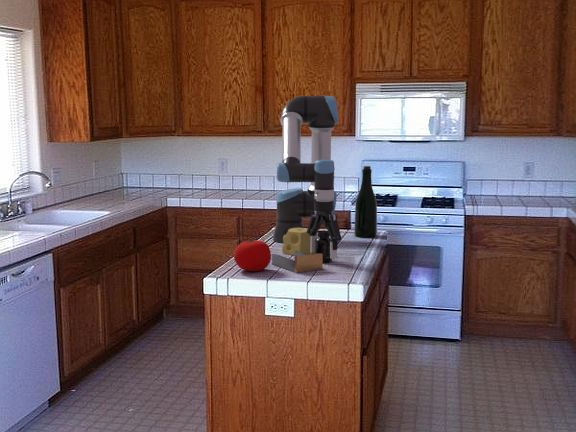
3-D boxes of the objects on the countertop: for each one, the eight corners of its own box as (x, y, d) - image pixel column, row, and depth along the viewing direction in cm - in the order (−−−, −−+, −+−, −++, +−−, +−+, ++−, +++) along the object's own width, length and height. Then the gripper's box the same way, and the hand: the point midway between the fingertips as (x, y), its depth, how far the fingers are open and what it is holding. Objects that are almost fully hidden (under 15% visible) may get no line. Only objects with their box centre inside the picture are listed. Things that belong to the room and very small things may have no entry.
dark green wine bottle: (380, 237, 318) (381, 166, 313) (358, 238, 316) (360, 167, 311) (372, 233, 328) (373, 165, 323) (351, 234, 326) (352, 165, 321)
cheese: (281, 253, 281) (281, 229, 280) (299, 250, 289) (299, 226, 287) (300, 257, 274) (300, 232, 273) (318, 253, 282) (318, 229, 280)
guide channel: (271, 264, 260) (271, 248, 260) (297, 261, 267) (297, 245, 266) (296, 273, 246) (296, 256, 245) (322, 269, 252) (322, 253, 251)
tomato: (274, 273, 246) (274, 242, 244) (236, 275, 243) (235, 243, 241) (267, 266, 258) (267, 236, 256) (231, 267, 255) (231, 237, 253)
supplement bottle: (311, 260, 268) (311, 230, 266) (327, 259, 270) (327, 229, 269) (319, 264, 261) (319, 233, 260) (335, 262, 264) (335, 232, 262)
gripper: (298, 197, 271) (297, 250, 274) (335, 204, 250) (334, 261, 253) (313, 196, 275) (313, 248, 278) (351, 203, 254) (350, 259, 257)
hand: (323, 255), depth 266 cm, fingers open, 12 cm apart
